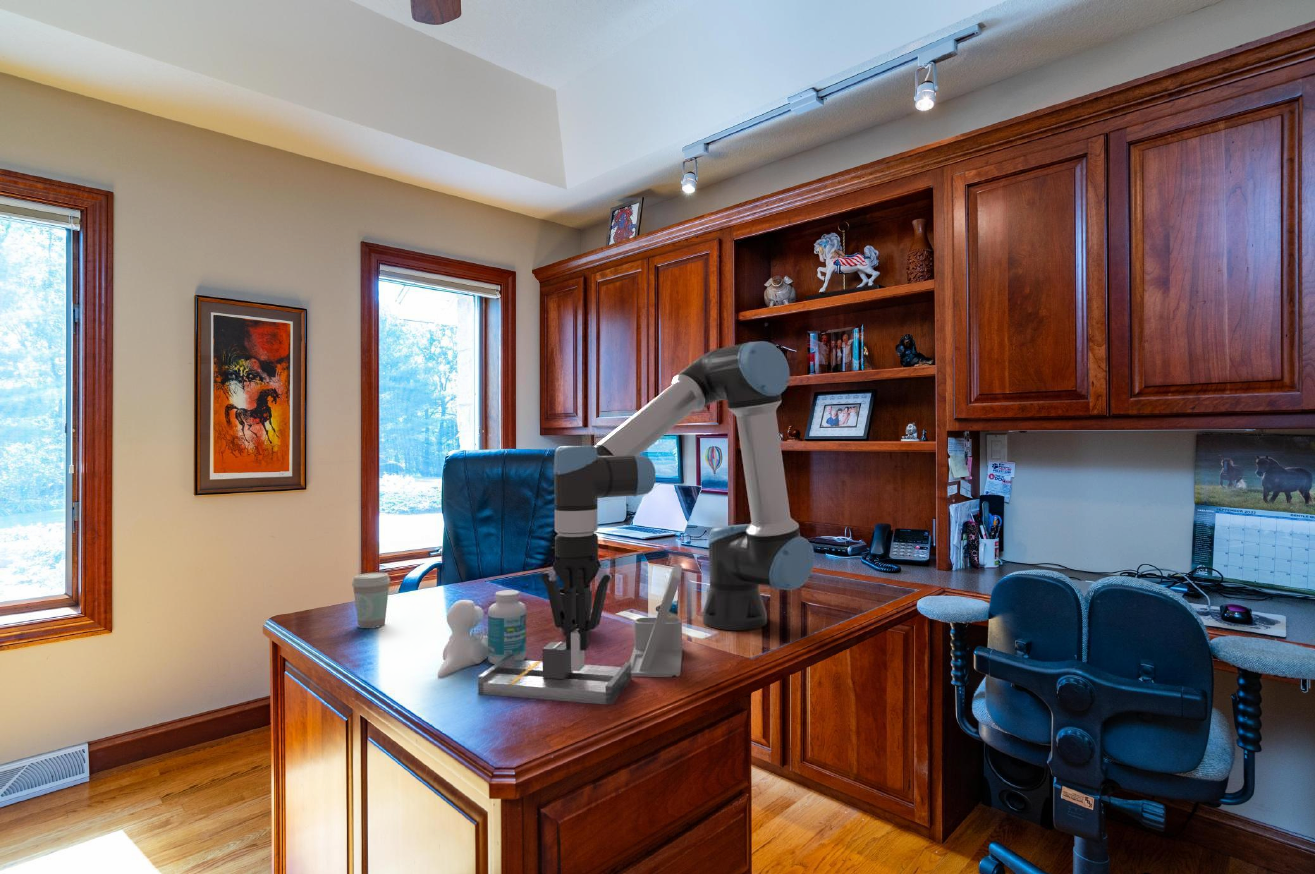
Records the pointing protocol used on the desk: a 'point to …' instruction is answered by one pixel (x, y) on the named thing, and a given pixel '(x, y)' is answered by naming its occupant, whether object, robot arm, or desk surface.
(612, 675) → the console
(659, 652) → the phone holder
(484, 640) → the figurine
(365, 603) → the coffee cup
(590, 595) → the mug
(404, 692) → the desk surface
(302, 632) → the desk surface
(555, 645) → the block
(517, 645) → the pill bottle
